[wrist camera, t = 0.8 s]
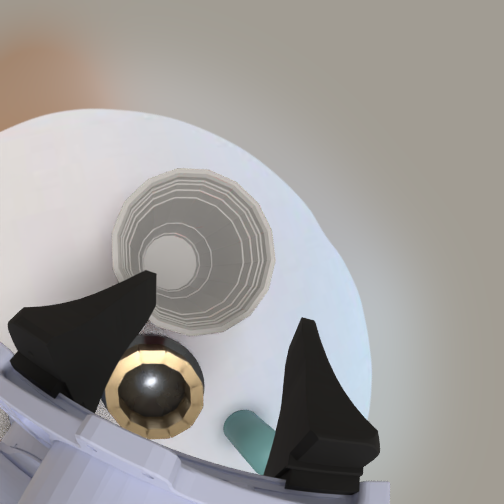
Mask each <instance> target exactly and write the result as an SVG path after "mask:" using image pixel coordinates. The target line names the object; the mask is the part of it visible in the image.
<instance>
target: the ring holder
mask: <svg viewBox="0 0 504 504" xmlns="http://www.w3.org/2000/svg"><path fill="white" fill-rule="evenodd" d="M203 394H204V378H203V374H202V371H201V368H200V366H199V364H198V362H197V361H196V359H195V358H194V356H193V355H192V354H191V353H190V352H189V351H188V350H187V349H186V348H185V347H184V346H182V345H181V344H179V343H178V342H176V341H174V340H172V339H170V338H167V337H164V336H160V335H154V334H141V335H137V336H136V337H135V339H134V340H133V341H132V343H131V344H130V345H129V347H128V348H127V350H126V351H125V352H124V354H123V355H122V357H121V359H120V360H119V362H118V364H117V366H116V368H115V370H114V371H113V373H112V375H111V377H110V379H109V381H108V383H107V386H106V388H105V390H104V392H103V394H102V397H101V399H102V401H103V403H104V405H105V407H106V408H107V410H108V411H109V413H110V414H111V415H112V416H113V417H114V419H115V420H116V421H117V422H118V424H119V425H120V426H121V427H122V428H124V429H126V430H129V431H131V432H133V433H135V434H137V435H140V436H142V437H144V438H147V439H167V438H170V437H171V438H172V437H174V436H176V435H178V434H180V433H181V432H183V431H185V430H187V429H188V428H190V427H191V426H192V425H193V424H194V422H195V420H196V419H197V417H198V415H199V414H200V412H201V410H202V408H203V407H202V406H203ZM190 425H191V426H190Z"/></svg>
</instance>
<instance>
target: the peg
mask: <svg viewBox="0 0 504 504" xmlns="http://www.w3.org/2000/svg"><path fill="white" fill-rule="evenodd" d="M275 432H276V431H275V430H274V429H272V428H271V427H270V426H269V425H268V424H266V423H265V422H264V421H263V420H262V419H260V418H259V417H258V416H257V415H256V414H255V413H253V412H252V411H249V410H240V411H237V412H235V413H233V414H231V415H230V416H229V417H228V418H227V420H226V421H225V424H224V433H225V435H226V437H227V438H228V439H229V440H230V442H231V443H232V444H233V445H234V447H235V448H236V449H237V450H238V451H239V453H240V454H241V455H242V456H243V457H244V459H245V460H246V461H247V462H248V463H249V464H250V466H251V467H252V468H253V469H254V470H255V471H256V472H257V473H258V474H260V475H263V474H264V471H265V468H266V465H267V461H268V458H269V454H270V451H271V447H272V444H273V440H274V436H275Z"/></svg>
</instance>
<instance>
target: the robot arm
mask: <svg viewBox="0 0 504 504" xmlns="http://www.w3.org/2000/svg"><path fill="white" fill-rule="evenodd" d="M156 281H157V274H156V273H153V272H150V271H148V270H145V271H143V272H140V273H138V274H136V275H134V276H132V277H130V278H128V279H126V280H124V281H122V282H120V283H118V284H116V285H114V286H112V287H109V288H107V289H105V290H103V291H100V292H98V293H95V294H93V295H90V296H87V297H84V298H81V299H78V300H74V301H70V302H66V303H62V304H56V305H50V306H42V307H24V308H23V309H21V310H20V311H19V312H18V313H17V314H16V315H15V316H14V317H13V318H12V319H11V320H10V321H9V322H8V330H9V333H10V335H11V338H12V340H13V342H14V344H15V346H16V348H17V350H18V352H17V353H16V354H15V355H14V354H13V352H12V351H11V350H10V349H9V348H7V347H6V346H5V345H4V344H3V343H1V342H0V408H1V409H2V410H3V411H5V412H6V413H7V414H8V416H9V420H10V424H11V426H10V428H9V429H8V431H7V432H6V434H5V435H4V437H3V438H2V440H1V441H0V504H390V482H388V481H363V482H360V483H359V480H360V476H362V475H363V467H364V466H366V465H367V464H368V463H370V462H371V461H373V460H374V459H375V458H376V457H377V456H378V455H379V453H380V443H379V436H378V431H377V430H376V429H375V428H374V427H373V426H372V425H371V424H370V423H369V422H368V421H367V420H366V419H365V418H364V416H363V415H362V414H361V413H360V412H359V411H358V409H357V408H356V407H355V406H354V404H353V403H352V402H351V400H350V399H349V397H348V396H347V395H346V393H345V392H344V390H343V388H342V387H341V385H340V383H339V381H338V380H337V378H336V376H335V374H334V372H333V370H332V368H331V365H330V363H329V361H328V359H327V356H326V353H325V351H324V348H323V346H322V343H321V340H320V337H319V333H318V330H317V327H316V323H315V321H314V320H310V319H306V318H303V317H302V318H301V320H300V323H299V325H298V327H297V330H296V332H295V335H294V337H293V339H292V342H291V344H290V346H289V350H288V355H287V360H286V364H285V374H284V384H283V394H282V404H281V410H280V415H279V419H278V424H277V428H276V432H275V436H274V440H273V444H272V447H271V451H270V454H269V458H268V461H267V465H266V468H265V471H264V474H263V475H258V474H254V473H249V472H245V471H241V470H237V469H233V468H229V467H226V466H222V465H218V464H215V463H212V462H208V461H205V460H202V459H199V458H196V457H193V456H190V455H187V454H184V453H181V452H178V451H176V450H173V449H170V448H168V447H165V446H163V445H160V444H158V443H156V442H153V441H151V440H149V439H146V438H144V437H142V436H140V435H137V434H135V433H133V432H131V431H129V430H126V429H124V428H122V427H120V426H118V425H116V424H114V423H112V422H110V421H108V420H106V419H104V418H102V417H100V416H98V415H97V414H95V412H96V409H97V406H98V404H99V401H100V399H101V397H102V394H103V392H104V390H105V388H106V386H107V383H108V381H109V379H110V377H111V375H112V373H113V371H114V370H115V368H116V366H117V364H118V362H119V360H120V359H121V357H122V355H123V354H124V352H125V351H126V350H127V348H128V347H129V345H130V344H131V343H132V341H133V340H134V339H135V337H136V336H137V335H138V333H139V332H140V331H141V329H142V328H143V327H144V325H145V324H146V323H147V321H148V319H149V318H150V316H151V314H152V312H153V310H154V309H155V307H156Z"/></svg>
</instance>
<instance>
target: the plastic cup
mask: <svg viewBox="0 0 504 504" xmlns="http://www.w3.org/2000/svg"><path fill="white" fill-rule="evenodd" d="M275 261H276V260H275V252H274V243H273V235H272V229H271V227H270V225H269V223H268V221H267V219H266V217H265V215H264V213H263V211H262V209H261V207H260V205H259V203H258V202H257V201H256V200H255V199H254V198H253V197H252V196H251V195H249V194H248V193H247V192H246V191H245V190H244V189H243V188H242V187H241V186H240V185H239V184H238V183H237V182H235V181H233V180H231V179H229V178H227V177H224V176H222V175H220V174H217V173H215V172H213V171H211V170H206V169H185V168H177V169H174V170H171V171H169V172H166V173H163V174H160V175H158V176H155V177H152V178H150V179H148V180H147V181H146V182H145V183H143V184H142V185H141V186H140V187H139V188H138V189H137V190H136V191H135V192H134V193H133V194H132V195H131V196H130V197H129V198H128V199H127V200H126V201H125V202H124V204H123V207H122V209H121V211H120V214H119V216H118V219H117V221H116V224H115V226H114V229H113V231H112V263H113V271H114V273H115V275H116V277H117V279H118V282H119V283H120V282H122V281H124V280H126V279H128V278H130V277H132V276H134V275H136V274H138V273H140V272H143V271H145V270H148V271H150V272H153V273H156V274H157V281H156V307H155V309H154V310H153V312H152V314H151V316H150V318H149V319H148V320H150V321H151V322H152V323H153V324H154V325H155V326H157V327H160V328H164V329H167V330H170V331H173V332H177V333H180V334H184V335H187V336H197V335H205V334H213V333H220V332H224V331H226V330H227V329H229V328H231V327H232V326H234V325H236V324H237V323H239V322H241V321H242V320H244V319H245V318H247V317H249V316H250V315H251V314H252V313H253V311H254V310H255V308H256V307H257V306H258V304H259V303H260V301H261V300H262V299H263V297H264V296H265V294H266V293H267V291H268V290H269V286H270V282H271V277H272V273H273V269H274V265H275Z"/></svg>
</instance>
